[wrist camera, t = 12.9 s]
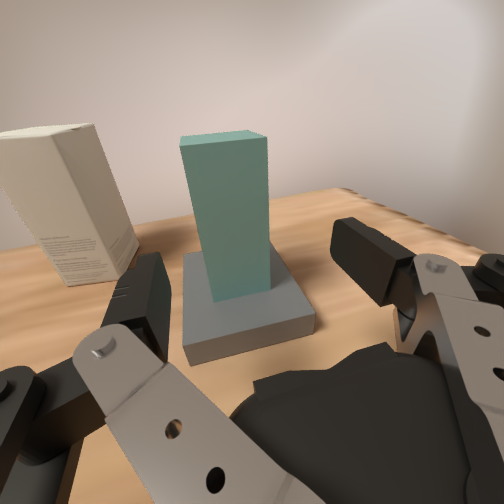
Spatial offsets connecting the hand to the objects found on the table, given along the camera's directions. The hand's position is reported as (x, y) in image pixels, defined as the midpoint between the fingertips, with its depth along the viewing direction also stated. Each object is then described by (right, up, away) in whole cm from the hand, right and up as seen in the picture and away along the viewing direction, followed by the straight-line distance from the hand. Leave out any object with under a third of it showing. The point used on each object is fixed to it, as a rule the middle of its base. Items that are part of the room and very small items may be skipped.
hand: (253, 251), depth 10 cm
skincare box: (-18, -2, +19) cm, 27 cm away
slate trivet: (-1, -5, +12) cm, 13 cm away
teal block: (-1, -2, +11) cm, 11 cm away
